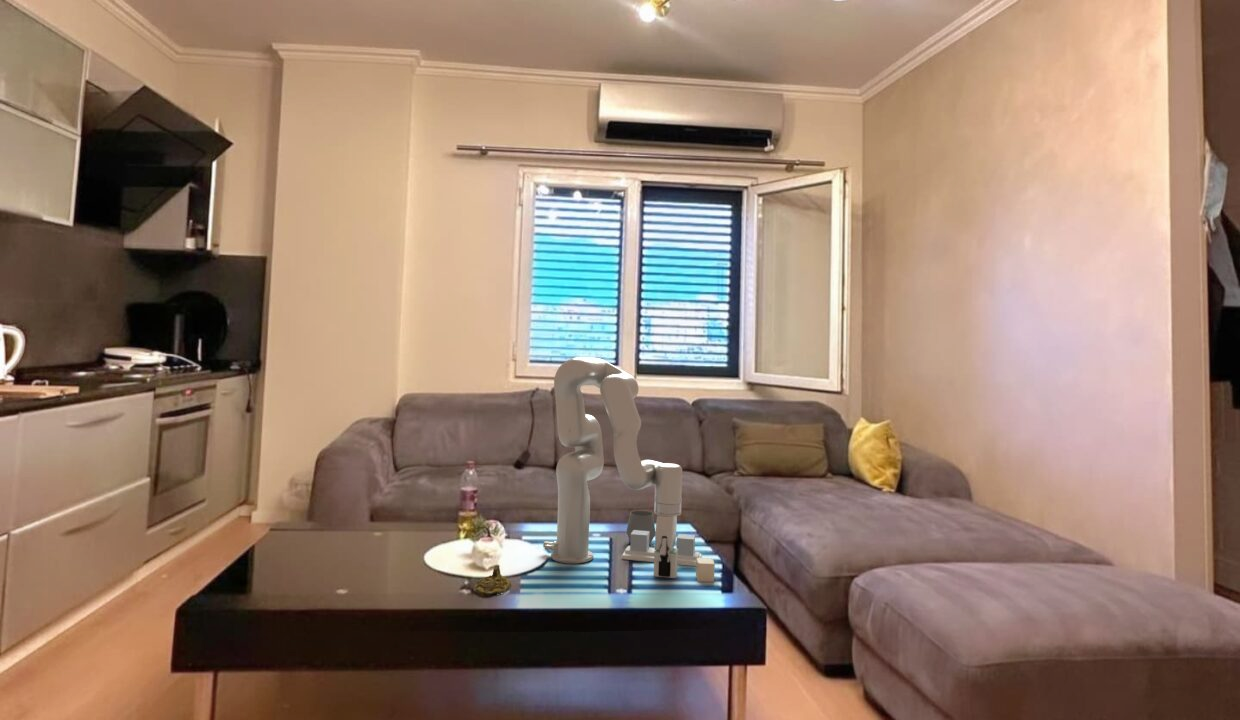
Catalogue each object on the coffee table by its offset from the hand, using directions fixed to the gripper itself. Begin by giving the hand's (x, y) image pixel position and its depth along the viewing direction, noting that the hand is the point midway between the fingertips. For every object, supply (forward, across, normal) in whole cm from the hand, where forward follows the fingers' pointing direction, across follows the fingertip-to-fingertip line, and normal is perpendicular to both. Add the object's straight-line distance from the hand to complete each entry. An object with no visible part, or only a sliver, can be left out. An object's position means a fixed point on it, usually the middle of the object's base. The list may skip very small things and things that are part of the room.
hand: (665, 572), depth 190 cm
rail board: (+1, -15, -3) cm, 15 cm away
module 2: (+1, 0, +11) cm, 11 cm away
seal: (+1, +24, -42) cm, 48 cm away
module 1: (+1, 0, 0) cm, 1 cm away
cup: (+1, -29, -12) cm, 31 cm away
